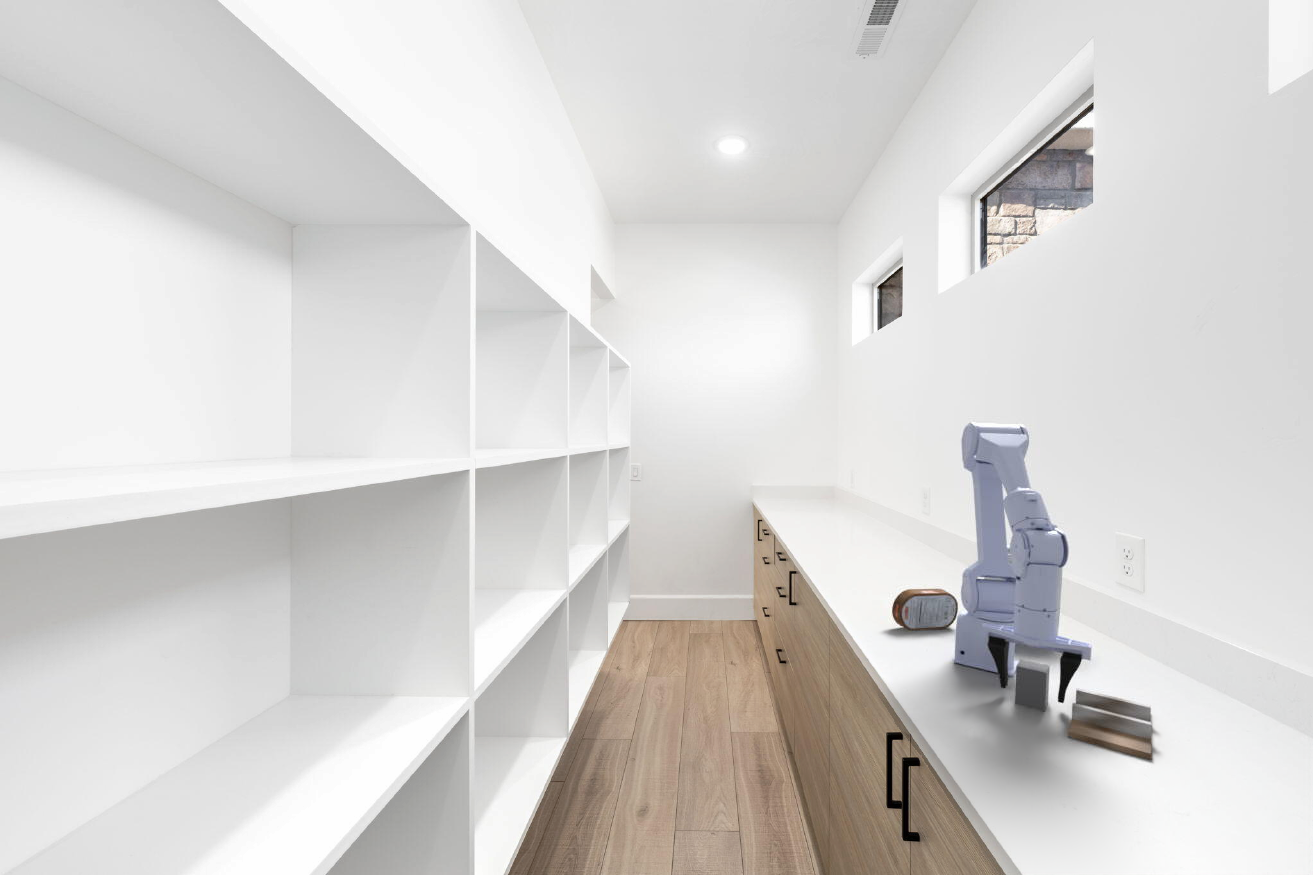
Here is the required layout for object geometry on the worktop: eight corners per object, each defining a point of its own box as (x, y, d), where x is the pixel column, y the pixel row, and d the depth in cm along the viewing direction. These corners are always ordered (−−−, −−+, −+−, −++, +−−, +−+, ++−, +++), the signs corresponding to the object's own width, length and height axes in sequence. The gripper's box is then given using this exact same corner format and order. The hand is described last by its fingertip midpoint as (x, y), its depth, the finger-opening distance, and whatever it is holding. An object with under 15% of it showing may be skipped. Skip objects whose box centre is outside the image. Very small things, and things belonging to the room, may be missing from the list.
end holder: (1068, 736, 86) (1069, 716, 86) (1078, 695, 100) (1079, 678, 100) (1151, 759, 81) (1152, 738, 81) (1149, 712, 95) (1150, 694, 95)
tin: (949, 624, 136) (951, 586, 136) (959, 629, 133) (961, 590, 133) (890, 628, 132) (891, 588, 132) (899, 633, 129) (901, 592, 129)
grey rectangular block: (1014, 704, 96) (1016, 665, 96) (1018, 696, 99) (1020, 658, 99) (1044, 712, 94) (1046, 673, 94) (1048, 703, 97) (1049, 665, 97)
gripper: (978, 602, 98) (975, 687, 98) (1090, 622, 89) (1086, 716, 89) (987, 593, 103) (984, 674, 103) (1093, 612, 94) (1089, 700, 94)
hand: (1031, 693), depth 97 cm, fingers open, 7 cm apart
